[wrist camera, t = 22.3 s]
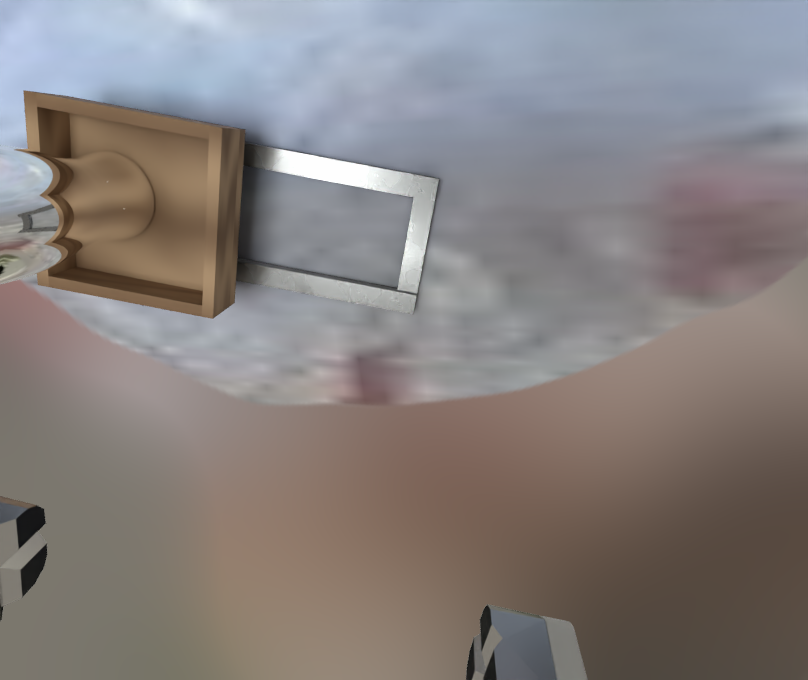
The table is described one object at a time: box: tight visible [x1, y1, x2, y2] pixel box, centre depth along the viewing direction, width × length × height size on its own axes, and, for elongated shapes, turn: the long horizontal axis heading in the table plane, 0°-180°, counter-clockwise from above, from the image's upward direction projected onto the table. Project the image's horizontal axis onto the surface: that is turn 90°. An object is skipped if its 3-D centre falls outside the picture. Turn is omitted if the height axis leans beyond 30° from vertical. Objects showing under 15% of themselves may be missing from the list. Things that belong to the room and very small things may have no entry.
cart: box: [24, 91, 245, 319], centre depth 38 cm, size 13×13×6 cm
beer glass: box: [0, 145, 155, 284], centre depth 31 cm, size 7×7×15 cm
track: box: [236, 142, 439, 314], centre depth 41 cm, size 11×27×2 cm, turn 80°
